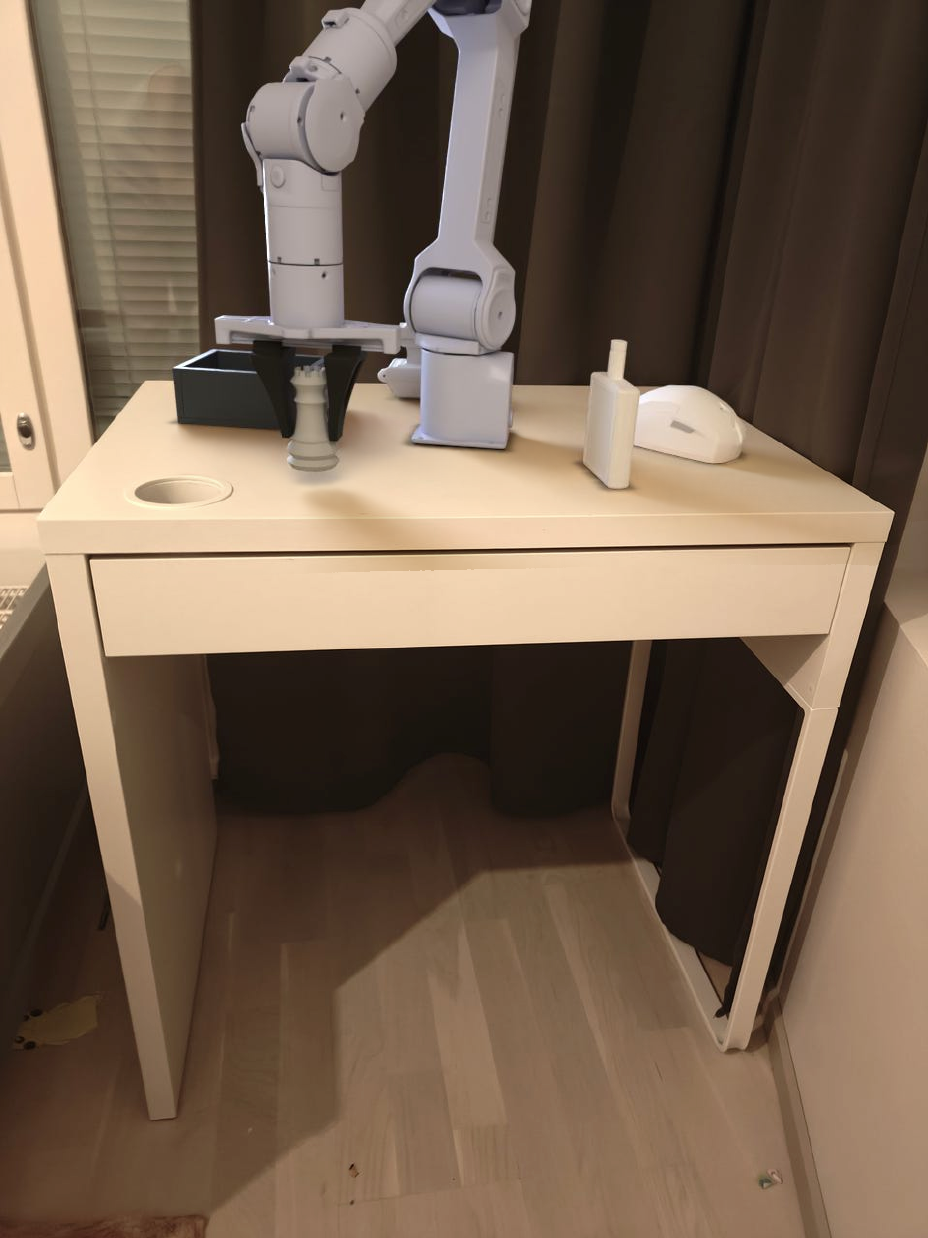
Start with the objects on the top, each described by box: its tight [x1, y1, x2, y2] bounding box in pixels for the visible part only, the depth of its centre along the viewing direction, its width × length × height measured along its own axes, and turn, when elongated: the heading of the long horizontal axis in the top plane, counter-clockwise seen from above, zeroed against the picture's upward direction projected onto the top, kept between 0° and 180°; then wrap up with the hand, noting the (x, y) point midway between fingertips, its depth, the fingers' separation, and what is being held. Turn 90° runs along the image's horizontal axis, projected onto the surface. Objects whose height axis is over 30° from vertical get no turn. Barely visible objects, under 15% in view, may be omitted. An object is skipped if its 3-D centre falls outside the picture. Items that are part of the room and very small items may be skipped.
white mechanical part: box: [377, 322, 422, 400], centre depth 109 cm, size 9×7×8 cm
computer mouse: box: [634, 384, 747, 464], centre depth 92 cm, size 6×13×6 cm, turn 47°
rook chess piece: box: [286, 366, 340, 473], centre depth 75 cm, size 4×4×8 cm
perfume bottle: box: [582, 339, 641, 490], centre depth 81 cm, size 8×2×12 cm, turn 10°
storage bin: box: [171, 348, 329, 431], centre depth 98 cm, size 14×12×6 cm
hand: (311, 437), depth 76 cm, fingers closed on rook chess piece, 3 cm apart
